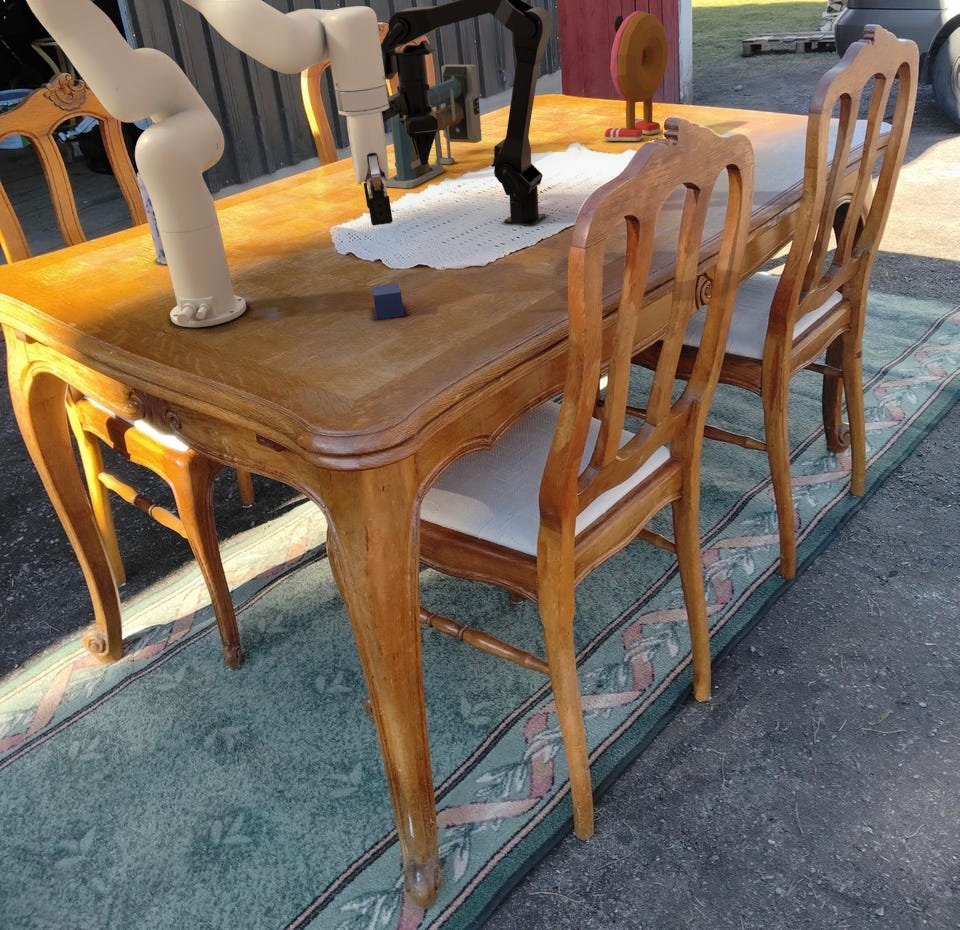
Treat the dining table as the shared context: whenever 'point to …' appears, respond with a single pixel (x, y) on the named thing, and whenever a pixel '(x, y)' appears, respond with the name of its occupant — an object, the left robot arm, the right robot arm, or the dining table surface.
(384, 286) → the block
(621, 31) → the toy
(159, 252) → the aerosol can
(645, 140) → the dining table surface
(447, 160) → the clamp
